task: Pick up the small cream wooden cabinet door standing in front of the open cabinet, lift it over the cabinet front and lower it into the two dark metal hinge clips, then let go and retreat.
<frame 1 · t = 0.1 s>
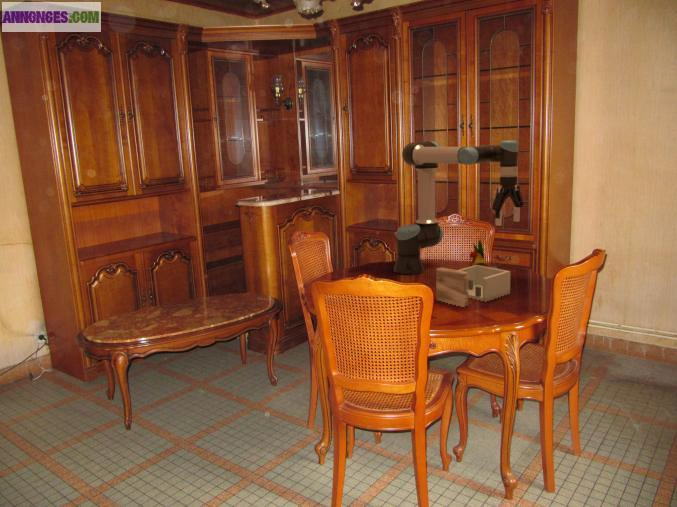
hand: (507, 223, 260), 28 cm above the table, tool pointing down, fingers open, 13 cm apart
pocket watch: (498, 282, 269), on the table
ornament: (475, 269, 294), on the table
cabinet: (480, 293, 251), on the table
door: (452, 303, 240), on the table
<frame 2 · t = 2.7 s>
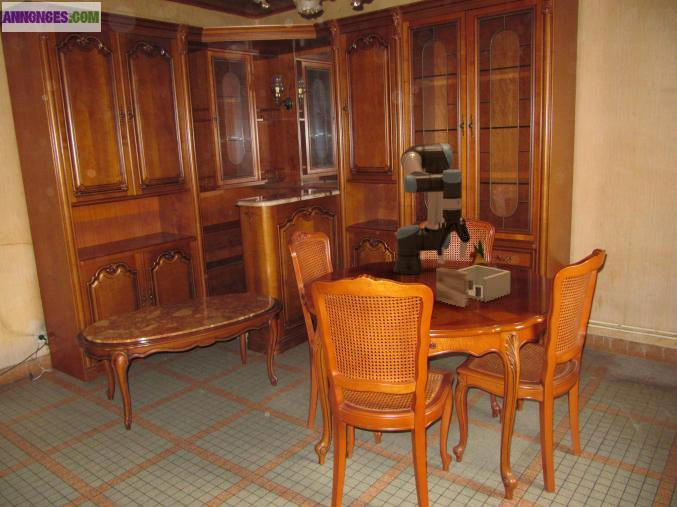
hand: (452, 260, 236), 18 cm above the table, tool pointing down, fingers open, 13 cm apart
nothing on the table moved.
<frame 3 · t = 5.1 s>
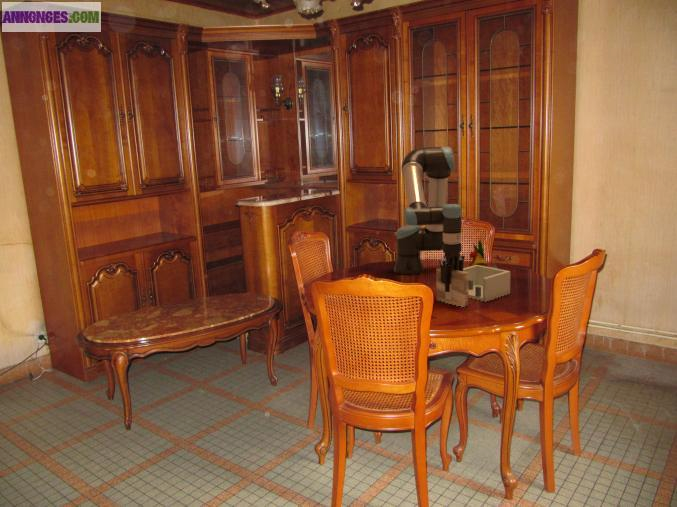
hand: (452, 297, 239), 2 cm above the table, tool pointing down, fingers closed on door, 3 cm apart
door: (452, 303, 240), on the table, touching gripper
everything else where it was.
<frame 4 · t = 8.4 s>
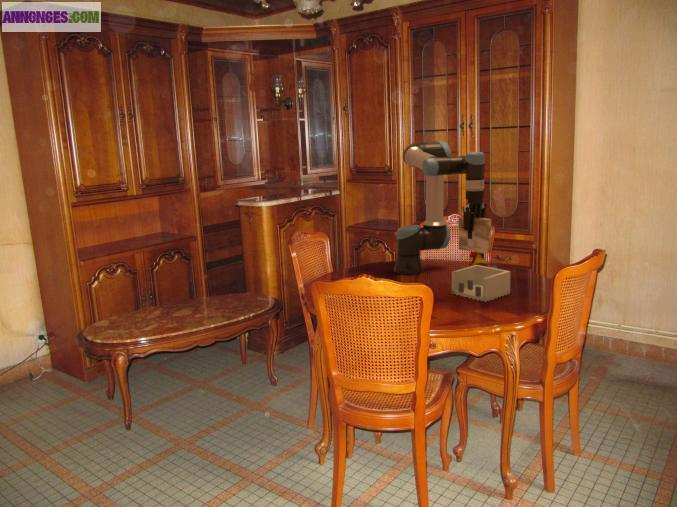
hand: (474, 245, 244), 22 cm above the table, tool pointing down, fingers closed on door, 3 cm apart
door: (474, 250, 244), point 20 cm above the table, touching gripper
everything else where it was.
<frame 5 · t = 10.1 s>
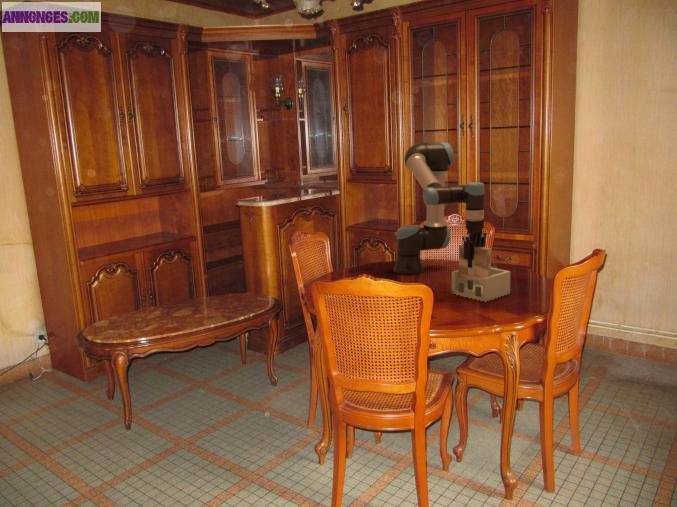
hand: (474, 273, 247), 10 cm above the table, tool pointing down, fingers closed on door, 3 cm apart
door: (474, 279, 247), point 8 cm above the table, touching gripper
everything else where it was.
when the fingers open (5 cm above the table, at t = 11.6 s): door drops 1 cm, resting on cabinet.
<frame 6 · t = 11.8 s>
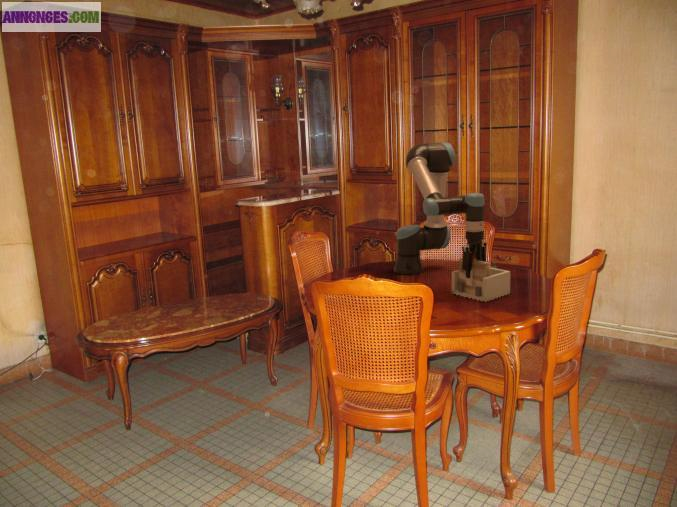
hand: (474, 283, 248), 6 cm above the table, tool pointing down, fingers open, 6 cm apart
door: (474, 292, 248), point 2 cm above the table, touching cabinet
everything else where it was.
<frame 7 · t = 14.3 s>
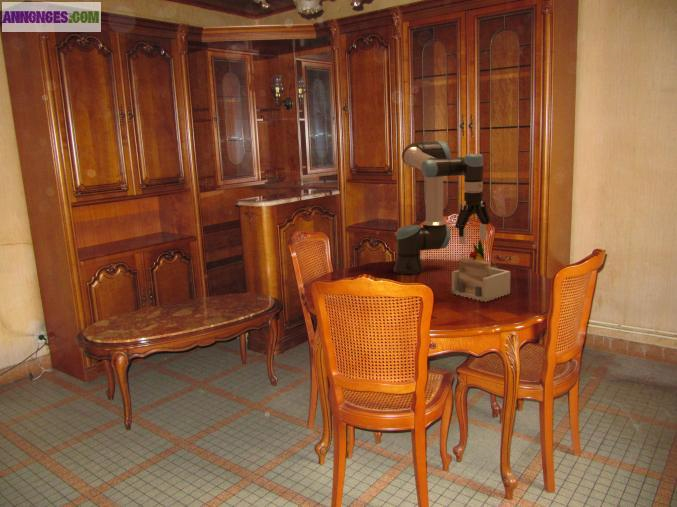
hand: (472, 241, 246), 24 cm above the table, tool pointing down, fingers open, 13 cm apart
nothing on the table moved.
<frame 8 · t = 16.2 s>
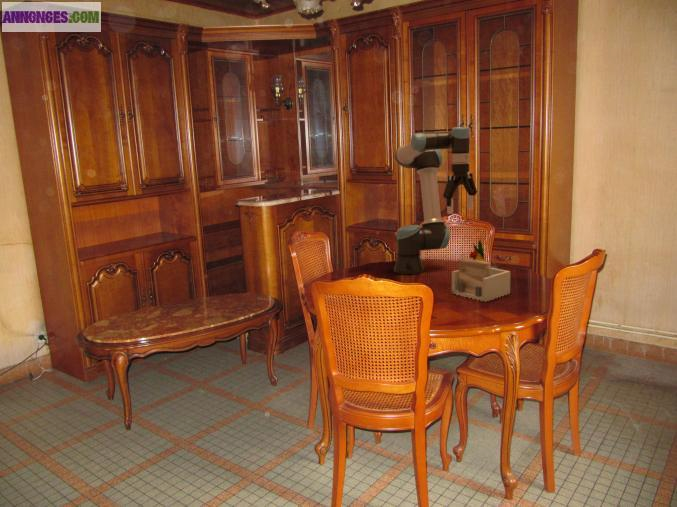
hand: (460, 211, 255), 35 cm above the table, tool pointing down, fingers open, 13 cm apart
nothing on the table moved.
at the end: door 0.0 cm from the target spot on the cabinet, point 1.5 cm above the cabinet's base; door tilted 0°; the gripper is holding nothing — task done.
